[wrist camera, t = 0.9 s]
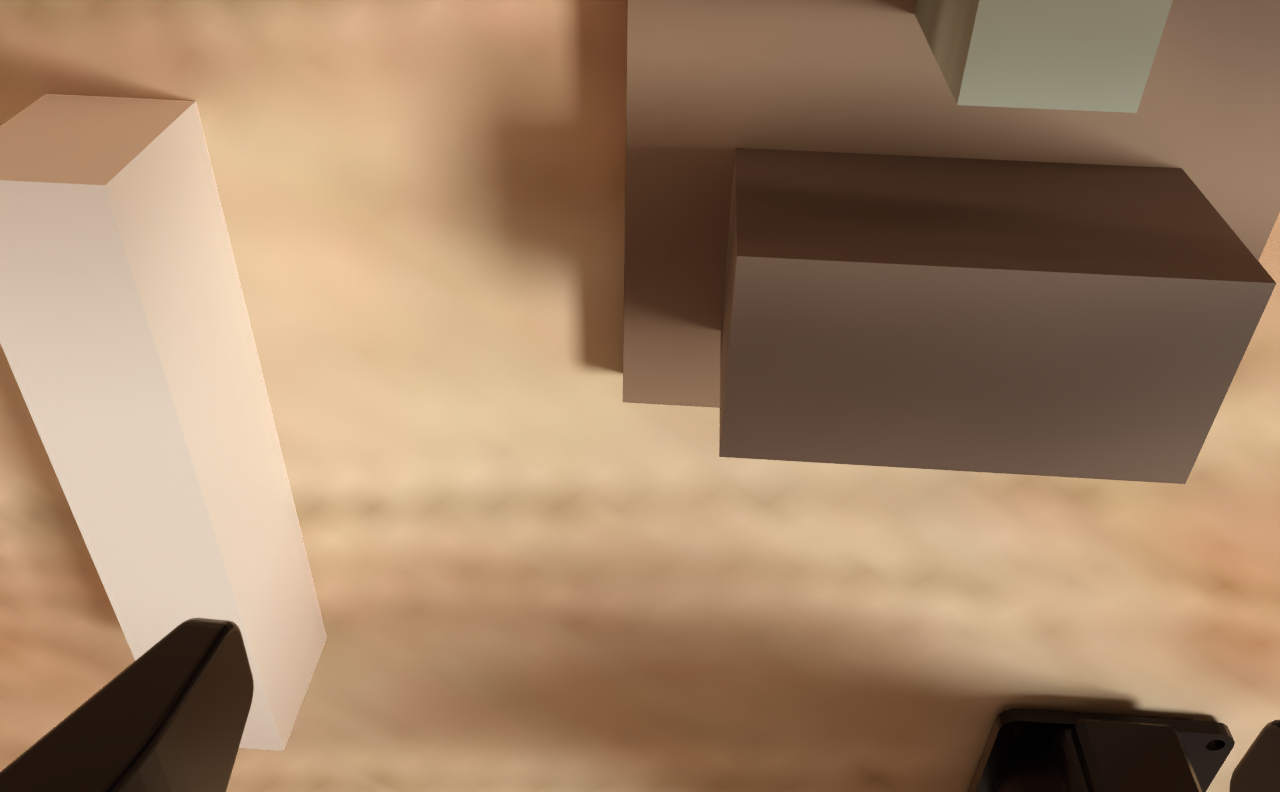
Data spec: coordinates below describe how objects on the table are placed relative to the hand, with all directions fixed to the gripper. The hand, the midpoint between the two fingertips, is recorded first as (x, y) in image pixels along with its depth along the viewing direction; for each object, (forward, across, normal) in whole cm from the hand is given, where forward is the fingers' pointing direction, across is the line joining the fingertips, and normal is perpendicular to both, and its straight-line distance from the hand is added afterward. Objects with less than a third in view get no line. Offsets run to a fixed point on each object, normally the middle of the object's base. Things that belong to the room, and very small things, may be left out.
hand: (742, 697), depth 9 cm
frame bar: (+14, +12, +8) cm, 20 cm away
